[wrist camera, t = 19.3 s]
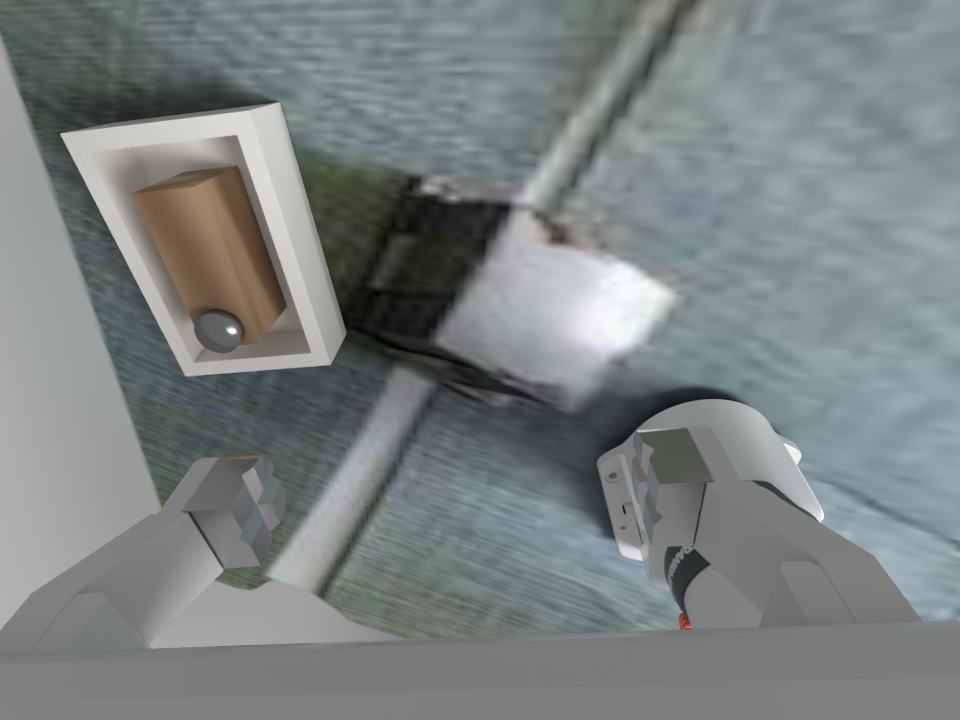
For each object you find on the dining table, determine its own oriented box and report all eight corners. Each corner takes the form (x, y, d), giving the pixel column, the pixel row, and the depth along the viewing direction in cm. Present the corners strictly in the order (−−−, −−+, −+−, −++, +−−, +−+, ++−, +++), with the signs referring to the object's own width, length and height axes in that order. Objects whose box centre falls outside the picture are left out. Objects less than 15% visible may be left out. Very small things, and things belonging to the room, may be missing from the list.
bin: (346, 333, 43) (330, 364, 39) (215, 344, 44) (185, 376, 40) (279, 102, 33) (248, 110, 29) (113, 122, 34) (59, 133, 30)
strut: (237, 165, 35) (185, 190, 29) (287, 306, 41) (252, 351, 35) (183, 171, 35) (121, 197, 29) (240, 310, 41) (198, 355, 35)
